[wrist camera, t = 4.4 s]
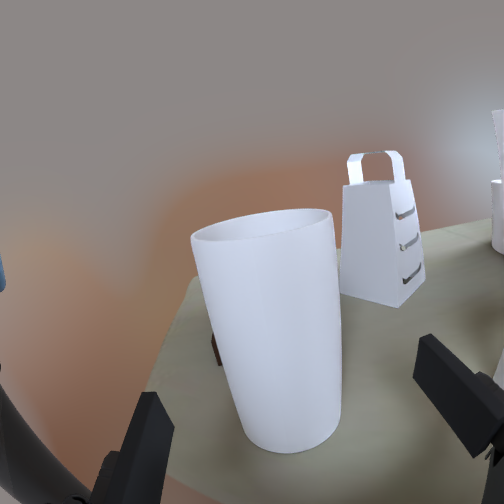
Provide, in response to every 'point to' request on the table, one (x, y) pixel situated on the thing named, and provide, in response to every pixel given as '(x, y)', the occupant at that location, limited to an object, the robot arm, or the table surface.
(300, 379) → the cup
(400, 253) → the grater
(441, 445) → the table surface
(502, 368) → the base with upright slab
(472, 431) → the robot arm
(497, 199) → the cylinder
